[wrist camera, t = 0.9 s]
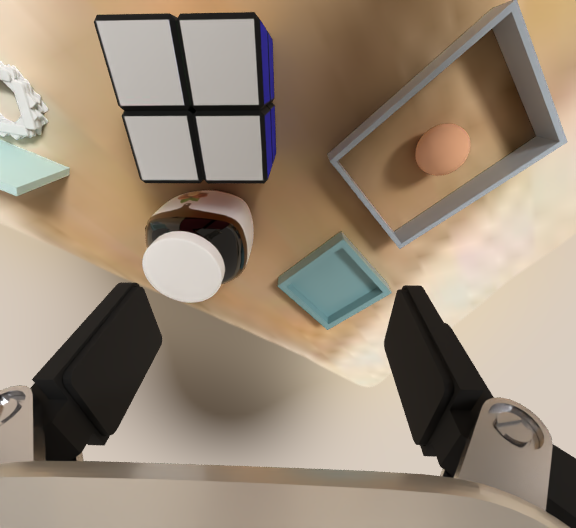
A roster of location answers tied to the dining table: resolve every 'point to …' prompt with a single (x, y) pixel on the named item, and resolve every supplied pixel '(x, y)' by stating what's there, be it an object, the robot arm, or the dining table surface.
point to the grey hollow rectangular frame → (548, 139)
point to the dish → (334, 282)
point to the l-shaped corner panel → (12, 159)
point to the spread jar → (197, 244)
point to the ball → (442, 149)
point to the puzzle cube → (194, 94)
